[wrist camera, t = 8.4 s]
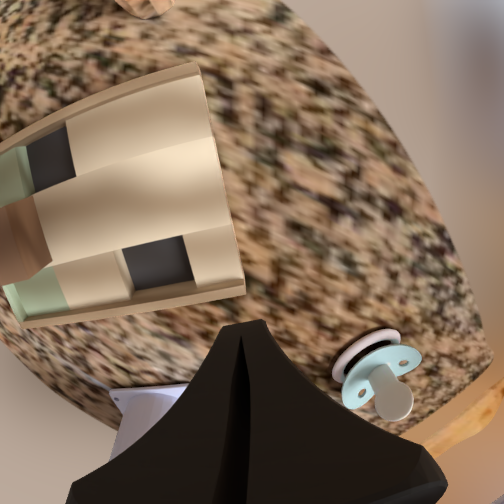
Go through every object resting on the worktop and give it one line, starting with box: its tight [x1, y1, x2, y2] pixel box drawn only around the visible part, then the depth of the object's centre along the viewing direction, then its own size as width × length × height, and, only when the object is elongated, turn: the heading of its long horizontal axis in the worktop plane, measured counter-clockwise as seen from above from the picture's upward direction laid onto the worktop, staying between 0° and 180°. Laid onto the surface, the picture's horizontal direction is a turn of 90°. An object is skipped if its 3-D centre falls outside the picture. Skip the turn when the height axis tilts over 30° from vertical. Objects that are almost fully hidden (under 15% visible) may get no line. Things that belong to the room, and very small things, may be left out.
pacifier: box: [332, 329, 422, 421], centre depth 20 cm, size 7×6×6 cm
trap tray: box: [0, 61, 246, 329], centre depth 16 cm, size 13×18×2 cm
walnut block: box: [0, 196, 53, 287], centre depth 15 cm, size 4×4×3 cm
